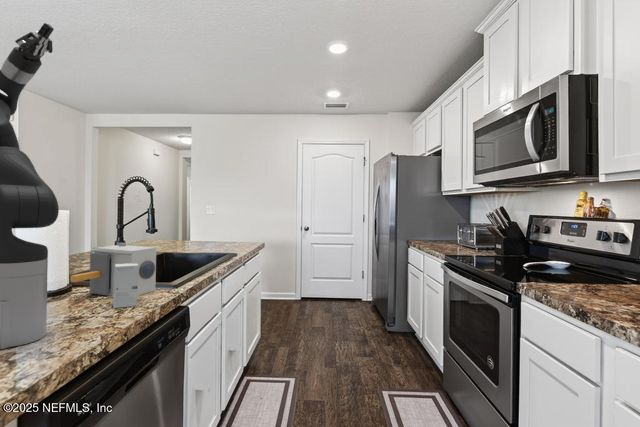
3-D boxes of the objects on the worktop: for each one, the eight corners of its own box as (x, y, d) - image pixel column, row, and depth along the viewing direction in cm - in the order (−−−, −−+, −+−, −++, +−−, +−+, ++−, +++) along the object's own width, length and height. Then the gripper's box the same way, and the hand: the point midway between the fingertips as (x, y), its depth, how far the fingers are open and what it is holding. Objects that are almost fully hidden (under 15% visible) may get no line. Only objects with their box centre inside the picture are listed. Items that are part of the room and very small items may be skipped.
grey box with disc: (130, 298, 102) (131, 248, 102) (91, 293, 107) (92, 244, 107) (157, 290, 112) (158, 244, 112) (119, 286, 117) (120, 242, 117)
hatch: (80, 301, 96) (81, 258, 95) (63, 299, 98) (64, 256, 97) (108, 294, 104) (109, 254, 104) (92, 292, 106) (93, 252, 106)
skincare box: (113, 308, 92) (114, 266, 92) (112, 304, 95) (113, 263, 95) (137, 305, 95) (138, 264, 95) (136, 301, 99) (137, 262, 99)
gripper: (46, 76, 115) (73, 38, 111) (14, 73, 103) (44, 31, 99) (27, 59, 113) (54, 20, 109) (-8, 54, 100) (21, 11, 97)
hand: (49, 25), depth 104 cm, fingers closed
